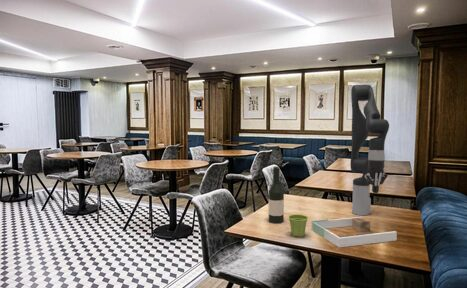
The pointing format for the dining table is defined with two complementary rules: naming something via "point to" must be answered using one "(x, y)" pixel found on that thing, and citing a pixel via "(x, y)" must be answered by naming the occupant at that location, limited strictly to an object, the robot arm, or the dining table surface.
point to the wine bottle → (276, 200)
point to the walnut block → (361, 224)
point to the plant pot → (298, 224)
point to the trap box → (346, 241)
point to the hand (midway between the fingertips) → (375, 192)
